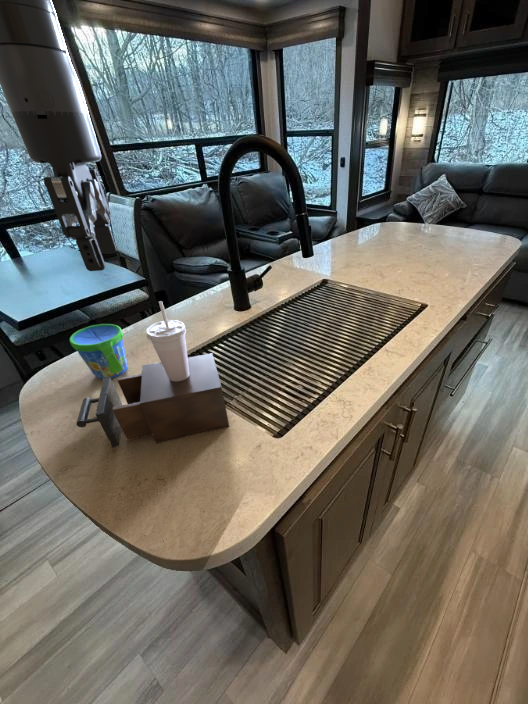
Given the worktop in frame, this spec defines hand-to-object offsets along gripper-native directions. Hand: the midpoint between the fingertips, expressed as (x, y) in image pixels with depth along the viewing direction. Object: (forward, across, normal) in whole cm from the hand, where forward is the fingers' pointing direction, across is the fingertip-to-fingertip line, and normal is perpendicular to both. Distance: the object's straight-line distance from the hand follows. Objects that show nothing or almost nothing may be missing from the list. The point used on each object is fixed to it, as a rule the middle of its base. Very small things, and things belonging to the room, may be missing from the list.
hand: (103, 261), depth 47 cm
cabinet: (+31, -1, +6) cm, 31 cm away
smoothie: (+21, -1, +6) cm, 22 cm away
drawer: (+30, 0, -4) cm, 30 cm away
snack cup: (+31, -22, -13) cm, 40 cm away
